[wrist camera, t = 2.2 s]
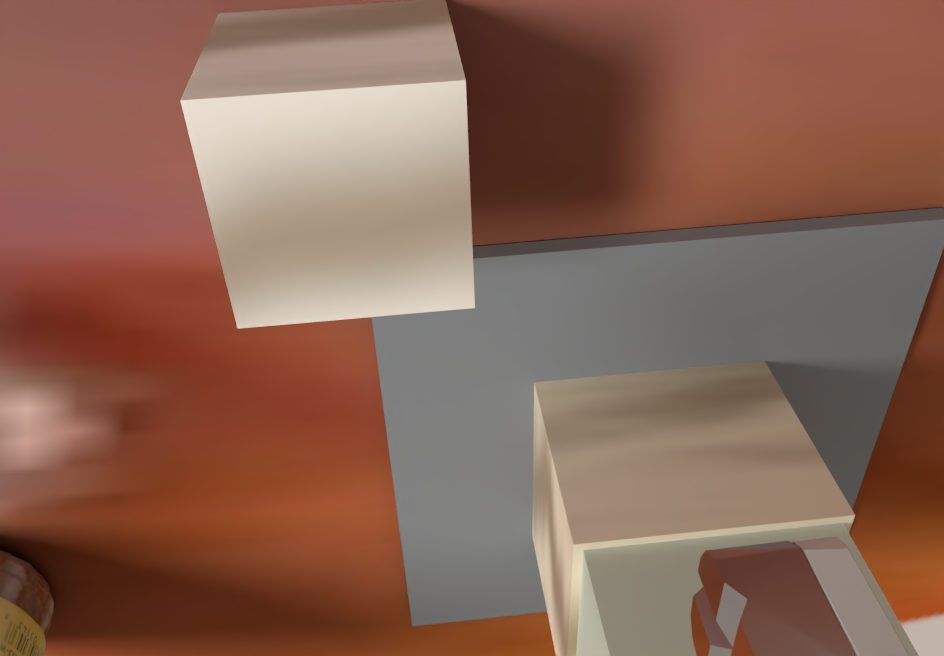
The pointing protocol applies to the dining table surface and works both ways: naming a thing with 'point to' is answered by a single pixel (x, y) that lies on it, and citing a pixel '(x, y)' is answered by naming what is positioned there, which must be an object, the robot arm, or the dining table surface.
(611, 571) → the sage block
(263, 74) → the cream cube
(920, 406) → the dining table surface
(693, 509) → the birch block
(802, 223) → the slate mat
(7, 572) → the sauce bottle
